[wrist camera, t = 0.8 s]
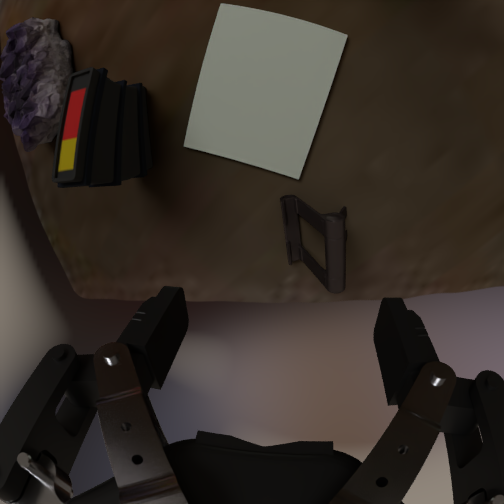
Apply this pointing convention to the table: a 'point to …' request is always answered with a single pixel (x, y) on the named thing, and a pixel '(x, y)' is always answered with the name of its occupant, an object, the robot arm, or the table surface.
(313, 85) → the sage mat
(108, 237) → the table surface
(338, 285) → the portable electronic device stand
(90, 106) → the black red yellow block
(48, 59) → the geode
